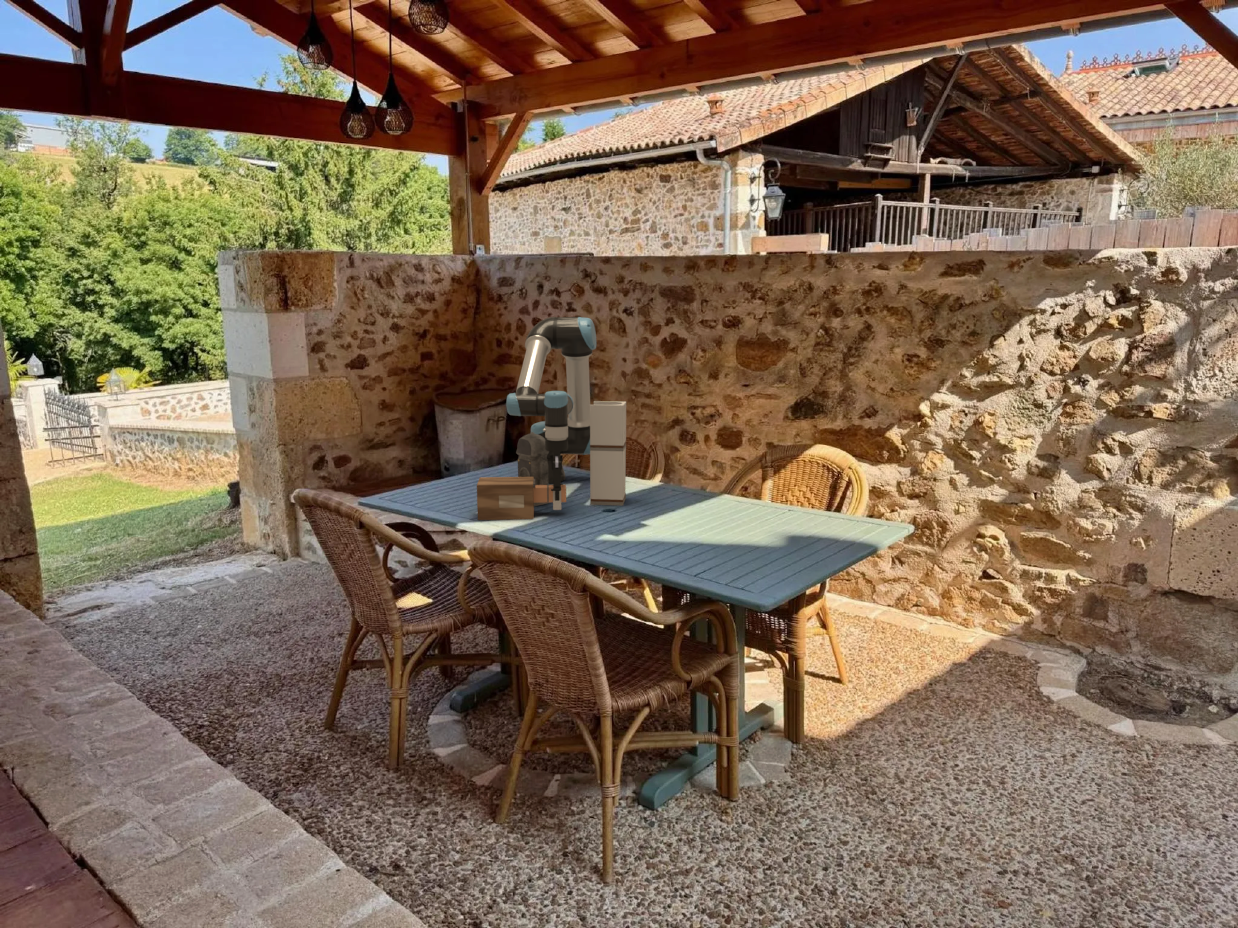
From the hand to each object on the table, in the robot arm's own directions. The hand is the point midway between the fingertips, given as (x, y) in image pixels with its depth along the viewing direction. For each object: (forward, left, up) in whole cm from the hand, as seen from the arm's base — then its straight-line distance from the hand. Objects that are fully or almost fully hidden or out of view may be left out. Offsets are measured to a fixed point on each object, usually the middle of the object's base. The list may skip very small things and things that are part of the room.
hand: (557, 507), depth 274 cm
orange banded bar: (0, -10, +2) cm, 10 cm away
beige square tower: (-16, +18, -2) cm, 24 cm away
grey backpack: (-17, -8, -2) cm, 19 cm away
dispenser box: (0, -17, -2) cm, 17 cm away
